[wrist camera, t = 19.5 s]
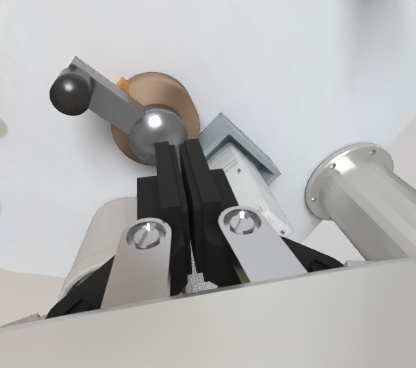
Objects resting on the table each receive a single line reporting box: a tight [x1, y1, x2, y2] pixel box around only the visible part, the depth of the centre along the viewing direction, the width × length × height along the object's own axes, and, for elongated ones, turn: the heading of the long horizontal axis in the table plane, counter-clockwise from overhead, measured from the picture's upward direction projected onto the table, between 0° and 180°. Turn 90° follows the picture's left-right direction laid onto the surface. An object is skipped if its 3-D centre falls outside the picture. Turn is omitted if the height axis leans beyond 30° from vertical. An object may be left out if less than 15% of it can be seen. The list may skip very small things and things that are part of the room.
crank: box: [50, 56, 188, 165], centre depth 24 cm, size 11×5×5 cm, turn 47°
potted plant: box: [58, 198, 192, 302], centre depth 30 cm, size 13×14×20 cm
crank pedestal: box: [111, 72, 200, 166], centre depth 29 cm, size 9×8×4 cm
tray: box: [178, 113, 281, 186], centre depth 35 cm, size 9×9×4 cm
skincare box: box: [207, 141, 294, 237], centre depth 31 cm, size 6×4×12 cm
